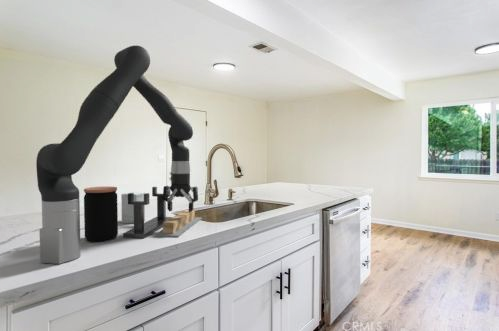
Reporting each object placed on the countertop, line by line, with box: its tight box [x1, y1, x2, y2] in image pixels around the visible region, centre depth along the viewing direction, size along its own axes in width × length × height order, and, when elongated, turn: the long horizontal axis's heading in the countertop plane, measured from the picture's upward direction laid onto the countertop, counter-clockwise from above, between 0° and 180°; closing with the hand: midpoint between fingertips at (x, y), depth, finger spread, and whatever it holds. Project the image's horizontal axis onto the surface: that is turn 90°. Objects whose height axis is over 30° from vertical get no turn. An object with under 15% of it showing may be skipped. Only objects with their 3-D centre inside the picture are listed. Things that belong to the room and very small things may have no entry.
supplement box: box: [120, 191, 146, 224], centre depth 132 cm, size 7×7×13 cm
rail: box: [162, 208, 196, 234], centre depth 123 cm, size 26×4×4 cm, turn 173°
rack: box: [122, 186, 173, 239], centre depth 121 cm, size 28×8×16 cm, turn 173°
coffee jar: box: [83, 186, 119, 243], centre depth 106 cm, size 11×11×18 cm
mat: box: [154, 216, 202, 238], centre depth 124 cm, size 30×9×1 cm, turn 173°
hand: (180, 211), depth 123 cm, fingers open, 8 cm apart
